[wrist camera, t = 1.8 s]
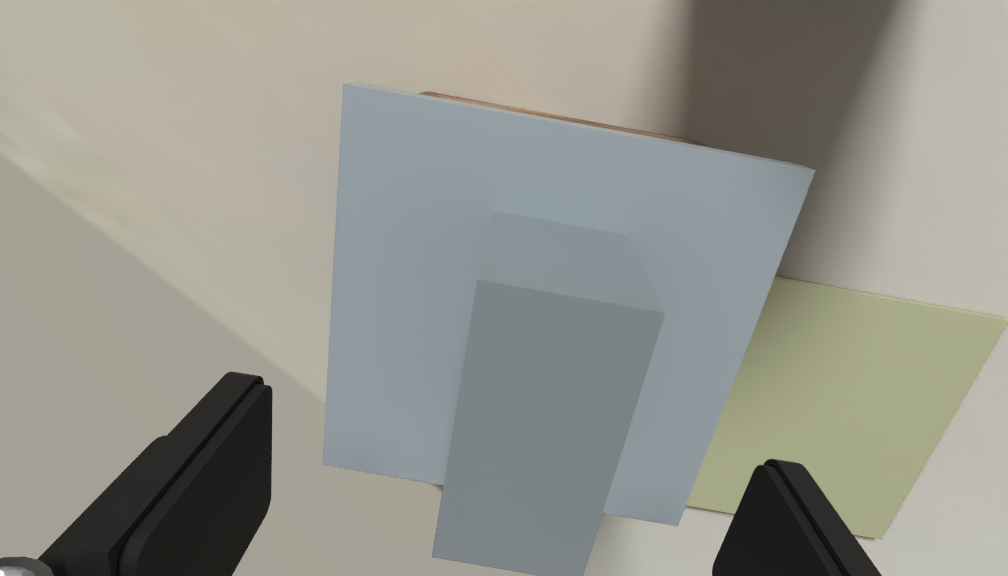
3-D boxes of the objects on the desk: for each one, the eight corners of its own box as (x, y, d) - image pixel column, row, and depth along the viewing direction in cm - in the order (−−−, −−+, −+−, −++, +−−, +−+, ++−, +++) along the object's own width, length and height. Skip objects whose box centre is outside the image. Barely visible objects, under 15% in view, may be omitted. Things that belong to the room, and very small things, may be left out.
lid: (782, 158, 16) (957, 223, 9) (664, 483, 20) (725, 681, 14) (366, 81, 15) (245, 93, 9) (342, 427, 20) (249, 601, 14)
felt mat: (1002, 317, 24) (1009, 321, 24) (877, 533, 29) (881, 539, 29) (715, 265, 24) (718, 268, 24) (638, 492, 29) (640, 497, 29)
